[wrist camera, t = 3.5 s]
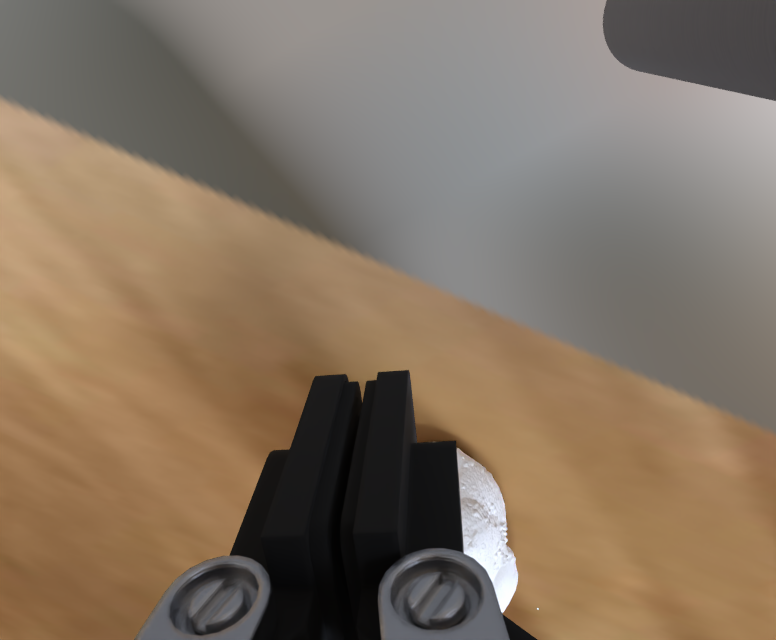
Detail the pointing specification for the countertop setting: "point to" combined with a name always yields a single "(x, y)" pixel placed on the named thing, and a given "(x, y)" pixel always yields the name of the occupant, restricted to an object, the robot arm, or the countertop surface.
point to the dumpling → (486, 526)
